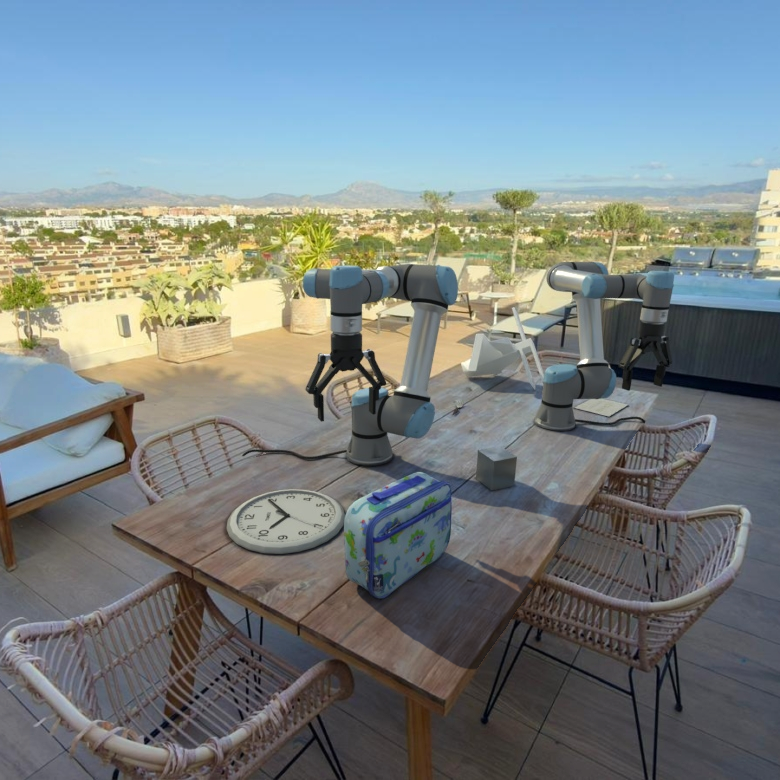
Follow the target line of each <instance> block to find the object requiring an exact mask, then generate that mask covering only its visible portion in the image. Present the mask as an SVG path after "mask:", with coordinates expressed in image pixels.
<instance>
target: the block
mask: <svg viewBox="0 0 780 780" xmlns="http://www.w3.org/2000/svg"><path fill="white" fill-rule="evenodd" d="M517 460H518V456H516V455H515V454H513V453H512V452H510V451H508V450H507V449H505V448H504V447H502V446H500V445H498V446H493V447H487V448H481V449H478V450H477V458H476V472H475V479H476V480H477V481H478V482H479V483H481V484H483V486H485V487H486V488H487V489H489V490H490V491H491V492H493V491H496V490H501V489H505V488H511V487H515V481H516V473H517V472H516V471H517V462H518V461H517Z"/></svg>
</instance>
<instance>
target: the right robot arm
mask: <svg viewBox="0 0 780 780" xmlns="http://www.w3.org/2000/svg"><path fill="white" fill-rule="evenodd" d="M545 277H546V283H547V285H548V287H549V288H550V289H551V290H554V291H556V292H563V293H571V299H573V300H574V301H575V302H576V314H577V315H576V316H577V329H578V330H577V331H578V344H579V345H578V346H579V359H580V360H579V362H578V363H577V364H576V365H574V364H569V363H567V364H566V363H561V364H553V365H549V367H547V368H546V369H545V371H544V378H543V382H542V394H541V402H540V405H539V407H538V410H537V411H536V413H535V417H534V424H535V425H536V426H537V427H539V428H542V429H544V430H549V431H556V432H567V431H572V430H574V429H575V428H576V423H582V424H584V423H585V424H591V425H598V426H614V425H617V424H618V423H619V422H621V421H628V420H639V421H641V422H643V423H646V420H645V419H644V418H642V417H640V416H627V417H619V418H617V419H616V420H615V421H612V422H603V421H601V422H600V421H594V420H593V421H592V420H585V419H576V418H575V417H576V416H575V413H574V407H573V405H574V400H590V399H607V398H610V396H612V394H614V391H615V389H616V385H617V374H616V372H615V370H614V369H613V368H610V367H609V366H610V365H609V362H608V361H607V360H606V359H605V356H604V355H605V354H604V340H603V326H602V324H603V323H602V311H601V299H614V300H615V299H617V300H618V299H625V300H626V299H627V300H630V299H631V300H642V305H641V311H640V316H639V320H640V322H639V323H638V329H637V333H638V334H639V336H638V338H636V337H631V338H630V341H629V344H628V345H627V348H626V351H625V352H624V354H623V356H622V358H621V360H620V362H619V363H618V368H621V369H622V383H621V389H623V390H625V391H628V392H629V391H631V387H632V380H633V374H634V370H633V368H634V367H635V366H636V364H637V363H638V362H639V360H640V359H641V357H643V355H645V354H646V353H651V352H652V354H653V355H654V358H656V361H657V363H658V364H657V365H656V368H655V373H654V379H653V385H655V386H656V387H660V388H661V387H663V383H664V378H665V376H666V370H667V368H669V367H670V366H671V365H672V364H673V357H672V353H671V348H670V336H667V335H665V334H666V328H667V324H666V323H667V321H668V315H669V310H670V305H671V300H672V295H673V290H674V286H675V285H674V281H675V274H674V272H672V271H667V270H650V271H648V272H647V274H646V275H644V274H642V273H631V274H609V270H608V268H607V267H606V265H605V264H604V263H602V262H600V261H599V262H598V261H561V262H558V263H555V264H554V265H552V266H551V267H550V268H549V269H548V271H547V273H546V276H545Z"/></svg>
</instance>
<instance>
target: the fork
mask: <svg viewBox="0 0 780 780" xmlns="http://www.w3.org/2000/svg"><path fill="white" fill-rule="evenodd" d="M464 403H465V400H462V399H459V400H458V401H457V404H456V408H455V409H454V410H453V413H452V416H453V415H455V414H456V413H457V412H458V410H459V408H463V406H464Z"/></svg>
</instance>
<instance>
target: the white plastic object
mask: <svg viewBox="0 0 780 780" xmlns="http://www.w3.org/2000/svg"><path fill="white" fill-rule="evenodd" d="M511 310H512V314H513V317H514V320H515V322H516V326H517V328H518V333H519V335H520V338H521V341H519V342H516V343H513V342H512V341H511V339H510V338H509V337H508V336H507V337H503V338H498V339H493V340H490V339H489V338H488V336H486V334H485V333H475V337H474V342H473V346H472V351H471V356H470V358H468V359H467V360H465V361H462V362H461V363H460V364H461V371H462V372H463V374H464V376H465V377H466V378H470V377H471V378H472V377H481V376H489V375H493V376H497V375H500V374H502V373H503V371H504V370H505V369H507V367H509V366H510V365H512V364H513V363H515V362H516V361H517V360H519V359H520V358H521V361H522V364H523V367H524V370H525V373H526V377H527V379H528V382H529V384H530V386H531V387H532V389H534V391H536V384H535V380H534V377H533V373H532V372H531V371H532V370H531V368H530V365H529V362H528V358H527V354H529V353H532V356H533V357H534V358H533V359H534V362H535V365H536V368H537V371H538V374H539V377H540V381H541V382H542V383H543V378H544V375H545V371H544V369H543V366H542V364H541V363H542V362H541V360H540V356H539V355H538V351H537V349H536V346H535V345H536V344H535V343H534V341H533V339H532V338H531V337H529V338H527V337H526V334H525V331H524V327H523V325H522V322H521V318H520V315H519V313H518V311H517V309H516V307H515V306H513V307H511Z"/></svg>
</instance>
